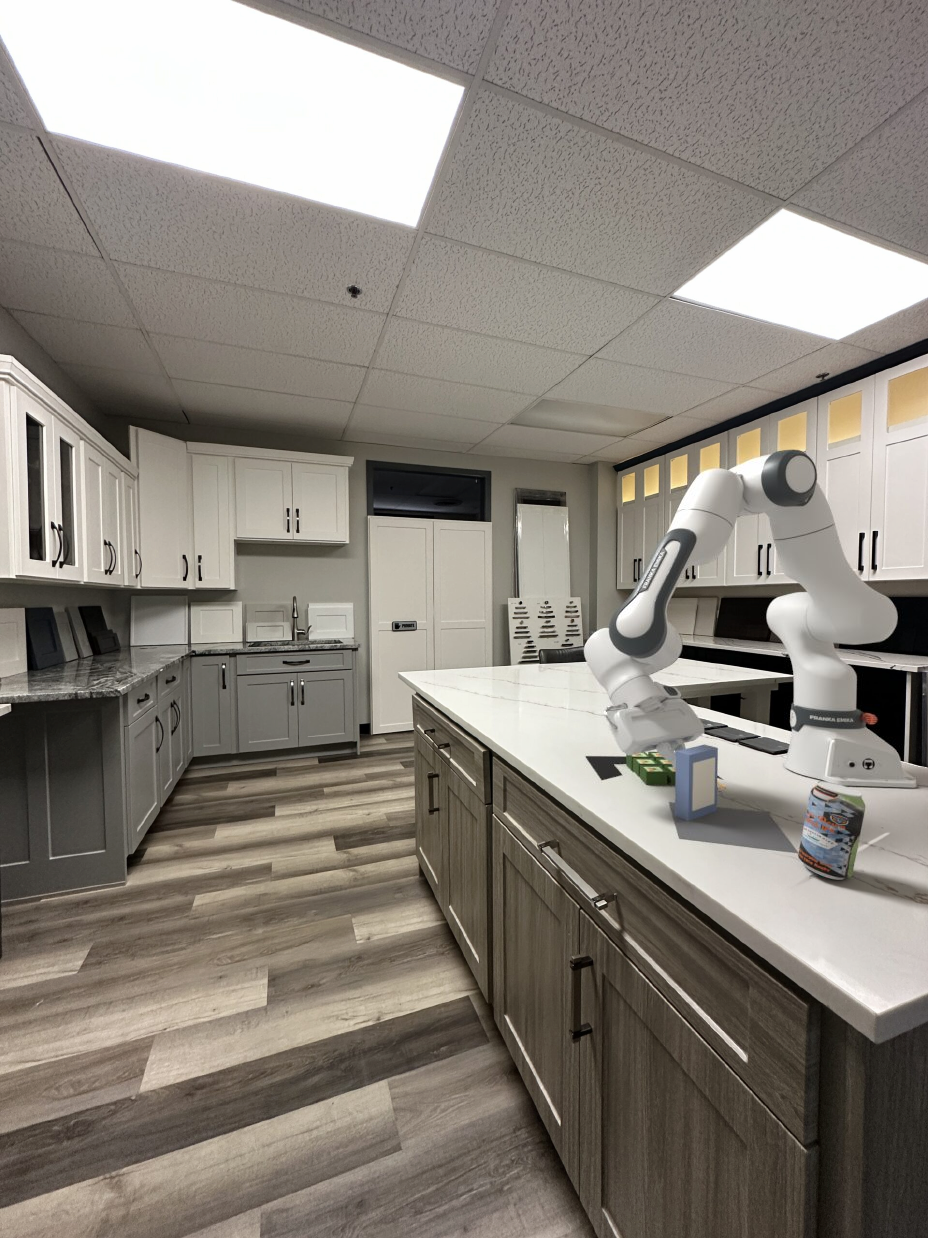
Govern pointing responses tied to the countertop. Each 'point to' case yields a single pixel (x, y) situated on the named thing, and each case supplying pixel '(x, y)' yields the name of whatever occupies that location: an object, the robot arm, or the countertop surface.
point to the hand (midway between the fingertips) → (684, 766)
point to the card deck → (696, 782)
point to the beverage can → (832, 830)
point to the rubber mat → (734, 829)
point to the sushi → (638, 767)
